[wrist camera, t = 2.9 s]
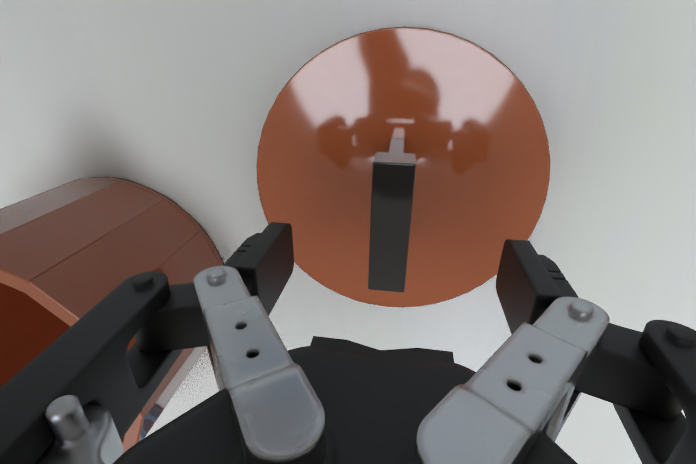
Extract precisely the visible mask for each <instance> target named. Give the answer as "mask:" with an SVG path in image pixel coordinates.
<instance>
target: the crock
mask: <svg viewBox="0 0 696 464" xmlns="http://www.w3.org/2000/svg"><path fill="white" fill-rule="evenodd" d="M215 266H223V262H222V260H221V257H220V255H219V253H218V251H217V249H216V248H215V246H214V244H213V243H212V241H211V240H210V238H209V237H208V235H207V234H206V233H205V231H204V230H203V229H202V228H201V227H200V225H199V224H198V223H197V222H196V221H195V220H194V219H193V218H192V217H191V216H190V215H189V214H188V213H187V212H185V211H184V210H183V209H182V208H180V207H179V206H178V205H177V204H175V203H174V202H173V201H171V200H169V199H168V198H166V197H165V196H163V195H162V194H160V193H158V192H156V191H154V190H152V189H150V188H148V187H145V186H143V185H140V184H137V183H135V182H131V181H127V180H123V179H118V178H110V177H92V178H86V179H82V178H81V179H77V180H74V181H72V182H69V183H67V184H64V185H61V186H59V187H56V188H54V189H51V190H48V191H46V192H43V193H41V194H38V195H35V196H33V197H30V198H28V199H25V200H22V201H20V202H17V203H15V204H12V205H9V206H7V207H4V208H2V209H0V388H1V387H2V386H3V385H4V384H5V383H6V382H8V381H9V380H10V379H11V378H12V377H13V376H15V375H16V374H17V373H18V372H19V371H20V370H21V369H23V368H24V367H25V366H26V365H27V364H28V363H30V362H31V361H32V360H33V359H34V358H35V357H36V356H38V355H39V354H40V353H41V352H42V351H43V350H45V349H46V348H47V347H48V346H49V345H50V344H51V343H53V342H54V341H55V340H56V339H57V338H58V337H60V336H61V335H62V334H63V333H64V332H65V331H66V330H68V329H69V328H70V327H71V326H72V325H73V324H75V323H76V322H77V321H78V320H79V319H80V318H82V317H83V316H84V315H85V314H86V313H87V312H88V311H90V310H91V309H92V308H93V307H94V306H95V305H97V304H98V303H99V302H100V301H101V300H102V299H103V298H105V297H106V296H107V295H108V294H109V293H110V292H112V291H113V290H114V289H115V288H116V287H117V286H118V285H120V284H121V283H122V282H123V281H124V280H126V279H128V278H130V277H132V276H134V275H137V274H140V273H144V272H161V273H164V274H165V275H167V278H168V282H169V285H176V284H186V283H194V281H193V280H194V278H195V276H196V275H197V274H198V273H199V272H201V271H203V270H205V269H208V268H211V267H215ZM135 342H136V340H135V337H133V338H132V340H131V341H130V343H129V345H128V349H127V352H128V350H129V349H130V348H131V347H132V346H133V345H134V344H135ZM206 347H207V346H203V347H195V348H187V349H183V351H182V352H181V354H180V355H179V357H178V358H177V360H176V361H175V363H174V364H173V365H172V367H171V368H170V370H169V371H168V373H167V374H166V376H165V377H164V379H163V380H162V381H161V383H160V384H159V386H158V387H157V389H156V390H155V392H154V393H153V395H152V396H151V397H150V399H149V400H148V402H147V403H146V405H145V406H144V408H143V409H142V411H141V412H140V414H139V415H138V416H137V418H136V419H135V421H134V422H133V424H132V425H131V427H130V428H129V430H128V431H127V432H126V434H125V435H124V437H123V438H122V440H121V442H122V445H123V453H124V452H126V451H127V450H128V449H129V448H131V447H132V446H133V445H135V444H136V443H138V442H139V441H141V440H142V439H144V437H145V436H146V435H147V433H148V432H149V430H150V429H151V427H152V426H153V424H154V423H155V421H156V420H157V419H158V417H159V416H160V414H161V413H162V411H163V410H164V408H165V407H166V405H167V404H168V403H169V401H170V400H171V398H172V397H173V395H174V394H175V392H176V391H177V389H178V388H179V386H180V385H181V384H182V382H183V381H184V379H185V378H186V376H187V375H188V373H189V372H190V370H191V369H192V368H193V366H194V365H195V363H196V362H197V360H198V359H199V357H200V356H201V354H202V353H203V352H204V350H205V349H206Z"/></svg>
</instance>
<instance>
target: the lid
mask: <svg viewBox="0 0 696 464" xmlns="http://www.w3.org/2000/svg"><path fill="white" fill-rule="evenodd" d="M549 176H550V155H549V146H548V139H547V135H546V132H545V128H544V124H543V121H542V118H541V116H540V114H539V112H538V109H537V107H536V105H535V103H534V101H533V99H532V98H531V96H530V94H529V93H528V91H527V90H526V88H525V87H524V85H523V84H522V82H521V81H520V80H519V79H518V78H517V77H516V76H515V75H514V74H513V72H512V71H511V70H510V69H509V68H508V67H507V66H506V65H505V64H503V63H502V62H501V61H500V60H498V59H497V58H496V57H495V56H494V55H492V54H491V53H490V52H488V51H486V50H484V49H483V48H481V47H479V46H478V45H476V44H474V43H472V42H470V41H468V40H465V39H463V38H460V37H458V36H455V35H453V34H450V33H446V32H441V31H437V30H433V29H428V28H416V27H394V28H382V29H378V30H373V31H369V32H364V33H360V34H357V35H355V36H352V37H350V38H347V39H344V40H342V41H339V42H338V43H336V44H334V45H332V46H331V47H329V48H327V49H325V50H323V51H322V52H320V53H319V54H318V55H316V56H315V57H314V58H312V59H311V60H310V61H308V62H307V63H306V64H304V65H303V66H302V67H301V69H300V70H299V71H298V72H297V73H296V74H295V75H294V76H293V77H292V78H291V79H290V80H289V81H288V83H287V84H286V85H285V87H284V88H283V89H282V91H281V92H280V93H279V95H278V96H277V98H276V100H275V102H274V104H273V106H272V107H271V109H270V111H269V113H268V116H267V119H266V121H265V124H264V127H263V129H262V133H261V138H260V142H259V146H258V156H257V184H258V190H259V196H260V201H261V204H262V207H263V210H264V214H265V217H266V219H267V221H268V223H269V224H270V223H271V222H279V223H290V224H291V226H292V235H293V250H294V262H295V263H296V264H297V265H298V266H299V267H300V268H301V269H302V270H303V271H304V272H306V273H307V274H308V275H309V276H310V277H312V278H313V279H314V280H316V281H317V282H319V283H321V284H322V285H324V286H325V287H327V288H329V289H331V290H333V291H335V292H337V293H339V294H341V295H343V296H346V297H349V298H351V299H354V300H357V301H361V302H365V303H368V304H373V305H380V306H387V307H415V306H423V305H429V304H435V303H439V302H442V301H446V300H449V299H453V298H455V297H457V296H460V295H462V294H465V293H467V292H469V291H471V290H473V289H475V288H476V287H478V286H480V285H482V284H483V283H485V282H486V281H488V280H489V279H491V278H492V277H493V276H495V275H496V274H497V273H498V269H499V264H500V259H501V254H502V250H503V245H504V242H505V240H506V239H511V240H525V241H527V240H528V238H529V237H530V235H531V234H532V232H533V230H534V228H535V226H536V224H537V222H538V220H539V218H540V215H541V212H542V209H543V206H544V203H545V200H546V195H547V190H548V185H549Z"/></svg>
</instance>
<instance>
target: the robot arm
mask: <svg viewBox="0 0 696 464" xmlns="http://www.w3.org/2000/svg"><path fill="white" fill-rule="evenodd" d="M293 267H294V250H293V235H292V226H291V224H290V223H279V222H271V223H270V224H269V225H268V226H267V227H266V228H265V230H264V231H263V232H262V233H256V234H254V235H252V236H251V237H249V238H247V239H246V240H245V241H244V242H243V243H242V245H241V246H240V247H239V248H238V249H237V250H236V252H234V254H233V255H232V256H231V257H230V258H229V259H228V260H227V261H226V262H225V264H224V265H223V266H215V267H211V268H208V269H205V270H203V271H201V272H199V273H198V274H197V275H196V276H195V278H194V280H193V281H194V283H186V284H176V285H169V282H168V278H167V275H165V274H164V273H161V272H144V273H140V274H137V275H134V276H132V277H130V278H128V279H126V280H124V281H123V282H122V283H121V284H120V285H118V286H117V287H116V288H115V289H114V290H113V291H112V292H110V293H109V294H108V295H107V296H106V297H105V298H103V299H102V300H101V301H100V302H99V303H98V304H97V305H95V306H94V307H93V308H92V309H91V310H90V311H88V312H87V313H86V314H85V315H84V316H83V317H82V318H80V319H79V320H78V321H77V322H76V323H75V324H73V325H72V326H71V327H70V328H69V329H68V330H66V331H65V332H64V333H63V334H62V335H61V336H60V337H58V338H57V339H56V340H55V341H54V342H53V343H51V344H50V345H49V346H48V347H47V348H46V349H45V350H43V351H42V352H41V353H40V354H39V355H38V356H36V357H35V358H34V359H33V360H32V361H31V362H30V363H28V364H27V365H26V366H25V367H24V368H23V369H21V370H20V371H19V372H18V373H17V374H16V375H15V376H13V377H12V378H11V379H10V380H9V381H8V382H6V383H5V384H4V385H3V386H2V387H1V388H0V464H577V463H576V462H575V461H574V460H573V459H572V458H571V457H570V456H569V455H568V454H567V453H566V452H565V451H563V450H562V449H561V448H560V447H559V446H558V445H557V444H556V443H555V440H556V438H557V436H558V434H559V432H560V430H561V428H562V427H563V425H564V423H565V421H566V420H567V418H568V416H569V414H570V413H571V411H572V409H573V407H574V406H575V404H576V402H577V400H578V399H579V397H580V395H581V392H582V393H585V394H588V395H591V396H594V397H597V398H600V399H603V400H605V401H608V402H611V403H613V405H614V408H615V410H616V412H617V414H618V416H619V418H620V420H621V422H622V424H623V426H624V428H625V430H626V432H627V434H628V436H629V438H630V440H631V442H632V444H633V446H634V448H635V450H636V452H637V454H638V456H639V458H640V460H641V462H642V464H696V331H695V330H693V329H691V328H689V327H686V326H684V325H681V324H678V323H675V322H671V321H665V320H653V321H650V322H648V323H647V324H646V326H645V328H644V331H643V332H639V331H635V330H632V329H628V328H624V327H621V326H617V325H614V324H611V323H609V321H610V320H609V316H608V314H607V313H606V312H605V311H604V310H603V309H602V308H600V307H599V306H597V305H596V304H594V303H592V302H589V301H587V300H584V299H580V298H579V297H578V296H577V294H576V293H575V291H574V290H573V288H572V287H571V285H570V284H569V283H568V281H567V280H566V278H565V277H564V275H563V274H562V273H561V271H560V269H559V268H558V266H557V265H556V264H555V263H554V262H553V261H552V260H550V259H549V258H547V257H546V256H544V255H538V254H537V253H536V251H535V249H534V248H533V246H532V245H531V243H530V242H529V241H525V240H511V239H506V240H505V242H504V245H503V250H502V254H501V259H500V264H499V269H498V273H497V279H496V290H497V294H498V297H499V300H500V303H501V306H502V308H503V311H504V314H505V317H506V320H507V322H508V325H509V328H510V331H511V334H512V335H511V336H510V337H509V338H508V339H507V340H506V341H505V342H504V344H503V345H502V346H501V347H500V348H499V349H498V350H497V351H496V352H495V353H494V354H493V355H492V356H491V357H490V358H489V359H488V361H487V362H486V363H485V364H484V365H483V366H482V367H481V368H480V369H479V370H478V371H477V372H474V371H473V370H471V369H469V368H466V367H464V366H462V365H459V364H456V363H454V359H453V352H449V351H440V350H431V349H422V348H409V349H396V350H377V349H374V348H371V347H367V346H364V345H361V344H358V343H355V342H351V341H348V340H343V339H334V338H325V337H316V336H313V339H312V342H311V345H310V346H306V347H300V348H296V349H292V350H289V351H287V350H286V348H285V346H284V344H283V342H282V340H281V338H280V337H279V335H278V333H277V331H276V329H275V327H274V326H273V324H272V322H271V320H270V318H269V314H270V313H271V311H272V309H273V307H274V305H275V303H276V302H277V300H278V298H279V296H280V294H281V292H282V291H283V289H284V287H285V285H286V283H287V281H288V280H289V278H290V276H291V274H292V271H293ZM133 337H135V340H136V342H135V344H134V345H133V346H132V347H131V348H130V349H129V350H128V352H127V349H128V345H129V343H130V341H131V340H132V338H133ZM203 346H207V349H208V353H209V357H210V360H211V364H212V367H213V371H214V375H215V378H216V382H217V385H218V389H219V392H217V393H216V394H214V395H213V396H211V397H209V398H208V399H206V400H205V401H203V402H201V403H200V404H198V405H197V406H195V407H193V408H192V409H190V410H189V411H187V412H186V413H184V414H182V415H181V416H179V417H178V418H176V419H174V420H173V421H171V422H170V423H168V424H166V425H165V426H163V427H162V428H160V429H158V430H157V431H155V432H154V433H152V434H150V435H149V436H147V437H146V438H144V439H142V440H141V441H139V442H138V443H136V444H135V445H133V446H132V447H131V448H129V449H128V450H127V451H126V452H124V453H123V445H122V442H121V440H122V438H123V437H124V435H125V434H126V432H127V431H128V430H129V428H130V427H131V425H132V424H133V422H134V421H135V419H136V418H137V416H138V415H139V414H140V412H141V411H142V409H143V408H144V406H145V405H146V403H147V402H148V400H149V399H150V397H151V396H152V395H153V393H154V392H155V390H156V389H157V387H158V386H159V384H160V383H161V381H162V380H163V379H164V377H165V376H166V374H167V373H168V371H169V370H170V368H171V367H172V365H173V364H174V363H175V361H176V360H177V358H178V357H179V355H180V354H181V352H182V351H183V349H187V348H195V347H203ZM682 409H683V411H684V413H685V417H686V418H685V417H684V415H683V414H682V413H681V411H682Z"/></svg>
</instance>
